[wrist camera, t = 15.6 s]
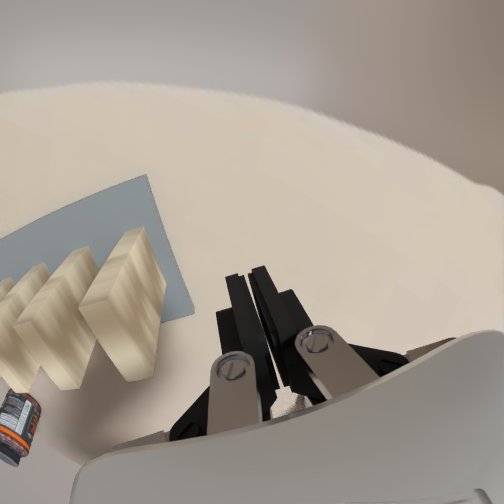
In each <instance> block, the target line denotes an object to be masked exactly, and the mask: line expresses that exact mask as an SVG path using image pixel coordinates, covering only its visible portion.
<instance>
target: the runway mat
mask: <svg viewBox="0 0 504 504" xmlns="http://www.w3.org/2000/svg"><path fill="white" fill-rule="evenodd" d="M143 226H144V228H145V231H146V234H147V236H148V239H149V242H150V244H151V247H152V249H153V252H154V255H155V257H156V260H157V262H158V265H159V267H160V270H161V272H162V274H163V277H164V279H165V282H166V288H165V295H164V301H163V307H162V314H161V321H160V323H162V322H166V321H170V320H174V319H178V318H181V317H185V316H189V315H193V314H194V305H193V303H192V300H191V298H190V296H189V293H188V291H187V288H186V286H185V283H184V281H183V278H182V276H181V273H180V270H179V268H178V265H177V263H176V260H175V257H174V255H173V252H172V249H171V246H170V244H169V241H168V238H167V235H166V233H165V230H164V227H163V224H162V221H161V218H160V215H159V212H158V209H157V206H156V203H155V200H154V197H153V194H152V191H151V188H150V185H149V182H148V178H147V175H146V174H145V175H142V176H140V177H137V178H134V179H131V180H129V181H126V182H123V183H120V184H118V185H115V186H113V187H110V188H108V189H105V190H103V191H100V192H98V193H95V194H93V195H90V196H88V197H86V198H83V199H81V200H79V201H76V202H74V203H72V204H70V205H67V206H65V207H63V208H61V209H59V210H56V211H54V212H52V213H50V214H48V215H46V216H44V217H42V218H40V219H38V220H36V221H34V222H32V223H30V224H28V225H26V226H24V227H22V228H20V229H18V230H16V231H15V232H13V233H11V234H9V235H7V236H5V237H4V238H2V239H0V282H1V281H2V280H4V279H6V278H9V277H11V279H12V281H13V283H14V285H16V284H17V283H18V282H19V281H20V280H21V279H22V278H23V276H24V275H25V274H26V273H27V272H28V271H29V270H30V269H31V268H32V267H35V266H37V265H39V264H42V263H44V264H45V266H46V268H47V270H48V272H49V274H50V276H52V274H53V273H54V272H55V271H56V270H57V269H58V267H59V266H60V265H61V264H62V263H63V262H64V261H65V259H66V258H67V257H68V256H69V255H70V254H71V253H72V252H73V251H75V250H78V249H80V248H83V247H86V246H89V249H90V251H91V253H92V256H93V258H94V260H95V262H96V264H97V267H98V269H99V271H100V269H101V268H102V266H103V265H104V263H105V262H106V260H107V258H108V257H109V255H110V254H111V252H112V251H113V249H114V248H115V246H116V245H117V243H118V242H119V240H120V239H121V237H122V236H123V234H124V233H125V232H128V231H131V230H134V229H137V228H140V227H143Z"/></svg>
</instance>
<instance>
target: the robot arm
mask: <svg viewBox="0 0 504 504" xmlns="http://www.w3.org/2000/svg"><path fill="white" fill-rule="evenodd" d="M248 278H249V281H250V285H251V288H252V292H253V296H254V299H255V303H256V307H257V310H258V314H259V317H260V320H259V317H258V314H257V311H256V309H255V306H254V303H253V300H252V297H251V294H250V292H249V289H248V286H247V283H246V280H245V277H244V275H242V276H238V273H237V274H234V275H230V276H227V277H225V279H226V283H227V287H228V292H229V296H230V300H231V304H232V307H231V308H228V309H224V310H221V311H217V312H216V318H217V324H218V330H219V337H220V343H221V349H222V355H221V356H220V357H219V358H218V359H216V360H215V362H214V363H213V365H212V368H211V375H210V386H209V387H208V388H207V389H206V390H205V391H204V392H203V393H202V394H201V396H200V397H199V398H198V399H197V400H196V401H195V402H194V403H193V404H192V406H191V407H190V408H189V409H188V410H187V411H186V412H185V413H184V414H183V415H182V416H181V417H180V419H179V420H178V421H177V422H176V423H175V424H174V425H173V427H172V428H171V430H170V431H168V432H164V431H163V430H162V431H160V432H157V433H154V434H151V435H148V436H145V437H142V438H139V439H136V440H133V441H129V442H126V443H123V444H119V445H117V446H115V447H114V448H113V449H112V450H111V451H110V453H106V454H104V455H101V456H99V457H97V458H94V459H93V460H91V461H89V462H88V463H86V464H85V465H83V466H82V467H81V468H80V469H79V471H78V473H77V474H76V477H75V479H74V483H73V486H72V491H71V496H70V504H504V333H503V332H501V331H497V330H482V331H478V332H473V333H469V334H466V335H464V336H461V337H458V338H454V337H453V338H447V339H444V340H441V341H438V342H435V343H432V344H429V345H426V346H423V347H419V348H416V349H413V350H409V351H407V352H406V354H405V355H401V354H398V353H395V352H389V351H384V350H378V349H373V348H368V347H363V346H358V345H353V344H348V343H346V342H345V340H344V339H343V338H342V337H341V336H340V335H339V334H338V333H337V332H336V331H335V330H333V329H332V328H330V327H327V326H322V325H317V326H314V325H313V324H312V322H311V320H310V318H309V317H308V315H307V313H306V312H305V310H304V308H303V307H302V305H301V303H300V302H299V300H298V298H297V297H296V295H295V293H294V292H293V290H292V289H290V290H287V291H284V292H281V293H278V291H277V289H276V287H275V285H274V283H273V281H272V279H271V277H270V275H269V273H268V272H267V270H266V268H265V266H260V267H257V268H254V269H252V273H249V274H248ZM260 321H261V323H260ZM261 324H262V325H261ZM263 330H264V331H263ZM264 333H265V334H264ZM265 336H266V337H265ZM266 339H267V340H266ZM267 342H268V344H269V347H270V350H271V352H272V355H273V358H274V361H275V363H276V366H277V369H278V372H279V374H280V377H281V380H282V382H283V385H284V387H286V386H290V388H291V391H292V393H293V392H294V393H297V394H300V395H304V397H305V398H304V405H305V408H306V409H303V410H300V411H297V412H294V413H291V414H288V415H285V416H281V417H278V418H275V419H273V416H272V410H271V406H272V405H273V403H274V402H275V400H276V399H277V395H276V392H275V390H277V389H280V387H279V383H278V380H277V376H276V372H275V369H274V365H273V362H272V358H271V355H270V351H269V348H268V344H267Z"/></svg>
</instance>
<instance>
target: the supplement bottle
mask: <svg viewBox="0 0 504 504" xmlns="http://www.w3.org/2000/svg"><path fill="white" fill-rule="evenodd" d="M40 413H41V409H40V406H39V405H38V403H37V402H36V401H35V400H34V399H33V398H32V397H31V396H30V395H28V394H27V393H15V392H14V391H13V389H10V390H9V391H8V393H7V395H6V397H5V399H4V401H3V404H2V406H1V408H0V459H1V460H3V461H4V462H6V463H8V464H10V465H12V466H14V467H18V465H19V462H20V458H21V457H26V456H27V455H28V453H29V450H30V446H31V443H32V440H33V436H34V433H35V430H36V426H37V423H38V420H39V417H40Z"/></svg>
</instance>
